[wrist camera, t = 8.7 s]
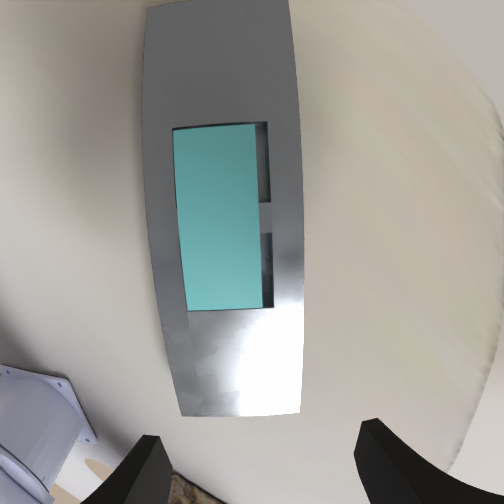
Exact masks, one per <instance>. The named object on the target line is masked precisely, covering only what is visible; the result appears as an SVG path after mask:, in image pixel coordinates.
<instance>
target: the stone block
mask: <svg viewBox="0 0 504 504" xmlns="http://www.w3.org/2000/svg"><path fill="white" fill-rule="evenodd" d="M167 504H223V503H221V502H219V501H218V500H216V499H214V498H213V497H211V496H209V495H208V494H206V493H204V492H203V491H201V490H200V489H199V488H197V487H195V486H193V485H191V484H190V483H188V482H187V481H185V480H184V479H182V478H181V477H179V476H178V475H172V479H171V489H170V494H169V498H168V503H167Z"/></svg>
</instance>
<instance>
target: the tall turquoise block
mask: <svg viewBox="0 0 504 504" xmlns="http://www.w3.org/2000/svg"><path fill="white" fill-rule="evenodd" d="M173 142H174V166H175V185H176V200H177V214H178V226H179V237H180V248H181V258H182V267H183V276H184V285H185V293H186V301H187V308H188V311H192V310H223V309H245V308H263V303H262V276H261V251H260V227H259V204H258V181H257V159H256V139H255V124H251V125H231V126H216V127H204V128H193V129H183V130H175V131H173Z"/></svg>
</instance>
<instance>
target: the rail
mask: <svg viewBox="0 0 504 504" xmlns="http://www.w3.org/2000/svg"><path fill="white" fill-rule="evenodd" d="M251 124H255V139H256V159H257V181H258V204H259V227H260V251H261V276H262V303H263V308H245V309H223V310H192V311H188V308H187V301H186V293H185V285H184V276H183V267H182V258H181V248H180V237H179V226H178V214H177V200H176V185H175V166H174V142H173V131H175V130H183V129H193V128H204V127H216V126H231V125H251ZM142 150H143V173H144V190H145V203H146V215H147V226H148V236H149V245H150V253H151V261H152V269H153V276H154V283H155V290H156V296H157V303H158V309H159V314H160V320H161V326H162V331H163V336H164V341H165V346H166V351H167V356H168V361H169V365H170V370H171V374H172V379H173V383H174V387H175V391H176V395H177V399H178V403H179V407H180V411H181V415H182V416H193V417H237V416H260V415H274V414H286V413H296V412H299V409H300V393H301V375H302V352H303V321H304V206H303V175H302V152H301V133H300V117H299V103H298V90H297V78H296V67H295V56H294V46H293V37H292V28H291V19H290V11H289V4H288V0H192V1H184V2H178V3H172V4H166V5H160V6H155V7H151V8H148V10H147V20H146V30H145V43H144V58H143V80H142Z"/></svg>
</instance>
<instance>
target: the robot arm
mask: <svg viewBox="0 0 504 504" xmlns="http://www.w3.org/2000/svg"><path fill="white" fill-rule="evenodd" d="M0 372H1V376H0V504H53V503H54V500H55V499H54V498H53V497H52V496H51V495H50V494H49V491H50V489H51V487H52V485H53V483H54V481H55V479H56V477H57V476H58V474H59V472H60V470H61V468H62V466H63V464H64V462H65V460H66V458H67V456H68V454H69V453H70V451H71V449H72V447H73V445H74V443H75V441H76V440H77V441H81V442H85V443H90V444H97V442H98V441H97V438H96V437H95V435H94V433H93V431H92V429H91V427H90V425H89V423H88V421H87V419H86V417H85V415H84V413H83V411H82V409H81V407H80V405H79V402H78V400H77V398H76V396H75V393H74V391H73V389H72V386H71V384H70V382H69V381H68V380H66V379H64V378H58V377H53V376H48V375H43V374H38V373H33V372H29V371H25V370H20V369H16V368H12V367H8V366H5V365H0ZM354 458H355V462H356V466H357V469H358V473H359V476H360V479H361V482H362V484H363V486H364V489H365V491H366V494H367V496H368V499H369V501H370V503H371V504H504V496H502V495H497V494H494V493H490V492H487V491H484V490H481V489H478V488H476V487H473V486H470V485H468V484H466V483H464V482H461V481H459V480H457V479H455V478H453V477H452V476H450V475H448V474H446V473H445V472H443V471H441V470H440V469H438V468H437V467H435V466H434V465H432V464H431V463H429V462H428V461H427V460H425V459H424V458H423V457H421V456H420V455H419V454H418V453H416V452H415V451H414V450H413V449H411V448H410V447H409V446H408V445H407V444H405V443H404V442H403V441H402V440H401V439H400V438H399V437H398V436H396V435H395V434H394V433H393V432H392V431H391V430H390V429H389V428H388V427H387V426H386V425H385V424H384V423H383V422H382V421H380V420H379V419H378V418H375V419H371V420H367V421H362V424H361V428H360V432H359V436H358V439H357V443H356V447H355V451H354ZM171 479H172V465H171V463H170V460H169V458H168V456H167V453H166V451H165V449H164V446H163V444H162V441H161V439H160V437H159V436H152V435H143V436H142V437H141V438H140V439H139V441H138V442H137V443H136V445H135V446H134V447H133V449H132V450H131V451H130V452H129V454H128V455H127V456H126V457H125V459H124V460H123V461H122V462H121V463H120V465H119V466H118V467H117V468H116V469H115V470H114V472H113V473H112V474H111V475H110V476H109V477H108V478H107V479H106V480H105V481H104V482H103V483H102V484H101V485H100V486H99V487H98V488H97V489H96V490H95V491H94V492H93V493H92V494H91V495H90V496H89V497H87V498H86V499H85V500H84V501H83V502H81V503H80V504H167V503H168V498H169V494H170V489H171Z"/></svg>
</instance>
